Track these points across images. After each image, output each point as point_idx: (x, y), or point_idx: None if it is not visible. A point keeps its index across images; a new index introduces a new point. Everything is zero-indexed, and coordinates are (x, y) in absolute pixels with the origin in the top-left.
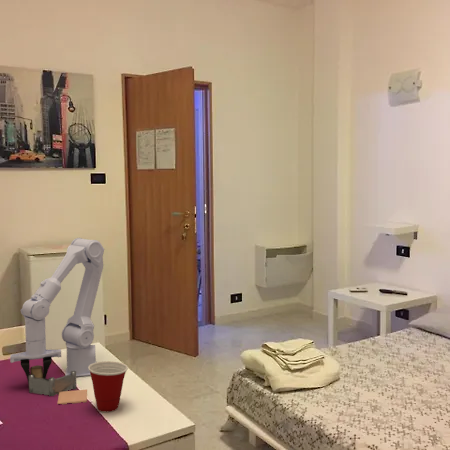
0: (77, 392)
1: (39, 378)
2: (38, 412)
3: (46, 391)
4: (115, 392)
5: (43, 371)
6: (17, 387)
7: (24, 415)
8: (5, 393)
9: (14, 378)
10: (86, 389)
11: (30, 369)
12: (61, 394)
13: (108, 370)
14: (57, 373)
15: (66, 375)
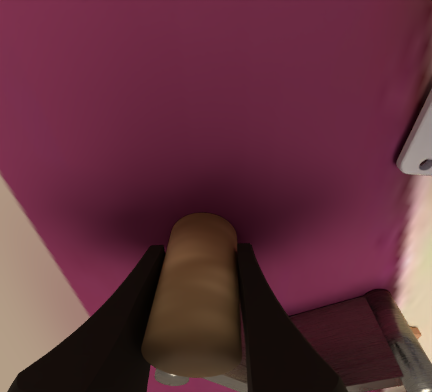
0: None
1: (220, 378)
2: (222, 386)
3: None
4: None
5: (245, 335)
6: (97, 223)
7: (185, 389)
8: (63, 269)
9: (3, 56)
10: (418, 334)
11: (148, 354)
12: None
13: None
14: (370, 35)
15: (372, 381)
